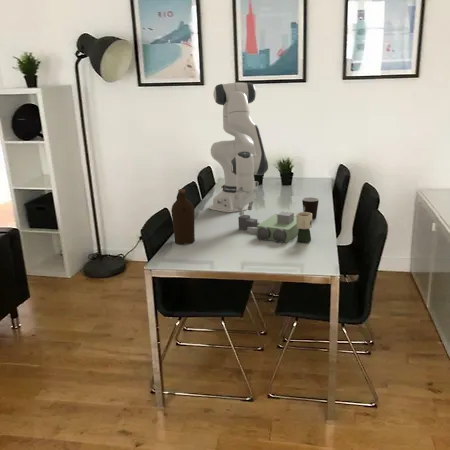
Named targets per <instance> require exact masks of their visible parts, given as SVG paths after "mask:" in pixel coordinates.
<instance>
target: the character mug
mask: <svg viewBox="0 0 450 450" xmlns="http://www.w3.org/2000/svg"><path fill="white" fill-rule="evenodd" d="M295 216H296V227H297V228H299V230H298V235H297V236H296V237H297V238H296V240H297V241H298V242H303V243H305V242H307V243H310V242H311V241H312V237H311V236H312V235H311V228H313V219H312V213H309V212H303V211H302V212H301V211H300V212H297V213H296V215H295Z"/></svg>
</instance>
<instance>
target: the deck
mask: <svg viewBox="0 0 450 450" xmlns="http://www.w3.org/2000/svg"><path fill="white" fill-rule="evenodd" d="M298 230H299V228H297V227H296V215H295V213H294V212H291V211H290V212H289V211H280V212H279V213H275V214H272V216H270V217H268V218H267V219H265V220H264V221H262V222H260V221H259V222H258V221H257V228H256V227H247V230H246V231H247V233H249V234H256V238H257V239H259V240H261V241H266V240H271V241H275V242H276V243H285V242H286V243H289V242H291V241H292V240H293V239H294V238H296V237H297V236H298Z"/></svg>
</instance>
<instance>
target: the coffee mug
mask: <svg viewBox="0 0 450 450" xmlns="http://www.w3.org/2000/svg"><path fill="white" fill-rule="evenodd" d="M319 200H320V199H319V197H315V196H314V197H313V196H311V197H309V196H307V197H304V198H302V199H301V202H302V212H309V213H312V220H315V218H316V219H317V215H318V208H319Z"/></svg>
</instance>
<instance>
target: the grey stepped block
mask: <svg viewBox="0 0 450 450" xmlns="http://www.w3.org/2000/svg"><path fill="white" fill-rule="evenodd" d="M237 219H238V230H239V231H247V227H256V228H257V222H258V218H251V215H249V214H244V215H242V216H240V215H239V216H238V218H237Z"/></svg>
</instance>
